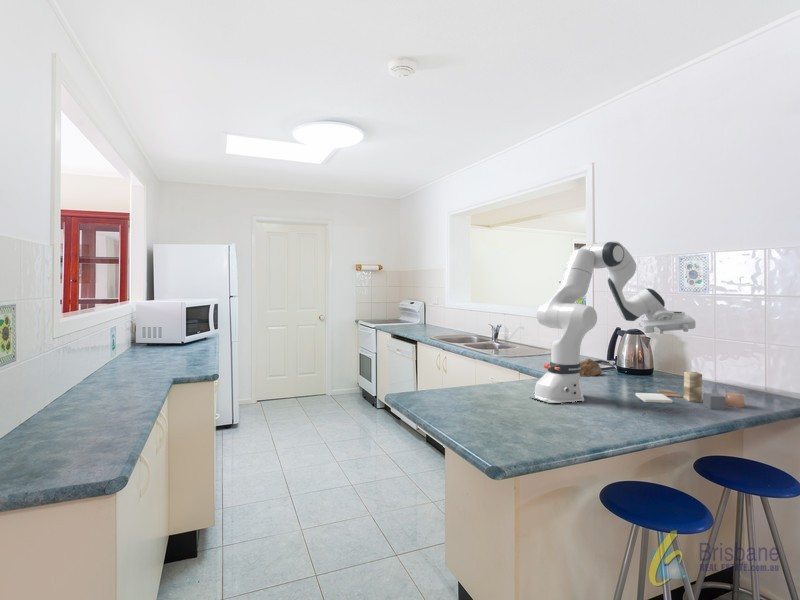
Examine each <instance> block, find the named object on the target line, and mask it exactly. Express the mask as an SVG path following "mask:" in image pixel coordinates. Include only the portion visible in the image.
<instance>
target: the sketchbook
mask: <svg viewBox="0 0 800 600" xmlns="http://www.w3.org/2000/svg"><path fill="white" fill-rule="evenodd" d="M594 361H595V362H597V363H598V364H599V366H600V367H601V369H602V372H601V373H605V372H604V371H607V372H612V371H611V370H614V371H616V370H615V369H616V368H615V367H614V365H612V364H610V363H609V362H610V361H608V362H607V360H602V359H600V360H599V359H598V360H594Z"/></svg>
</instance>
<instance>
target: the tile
mask: <svg viewBox="0 0 800 600" xmlns="http://www.w3.org/2000/svg"><path fill="white" fill-rule="evenodd" d="M635 396H636V397H638V399H640V400H642V401H643V402H644V403H664V404H665V403H666V404H667V403H670V404H673V401H674V400H673V399H671V398H670V397H666V396H664V395H663V394H661V393H656V392H655V393H652V392H651V393H648V392H635Z"/></svg>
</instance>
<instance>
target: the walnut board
mask: <svg viewBox="0 0 800 600" xmlns="http://www.w3.org/2000/svg"><path fill="white" fill-rule="evenodd" d="M656 392H658V394H663V395H664V396H666V397H668V398H675V397H678V398H679V399H684V395H680V394H679V393H677V392H675V391H674V390H670V389H668V390H667V389H656Z"/></svg>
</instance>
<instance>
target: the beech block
mask: <svg viewBox="0 0 800 600" xmlns="http://www.w3.org/2000/svg"><path fill="white" fill-rule="evenodd" d="M702 395H703V374H702V373H700V372H697V371H684V372H683V399H684V400H685V401H687V402H689V403H690V402H691V403H703V398H702V397H703V396H702Z"/></svg>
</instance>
